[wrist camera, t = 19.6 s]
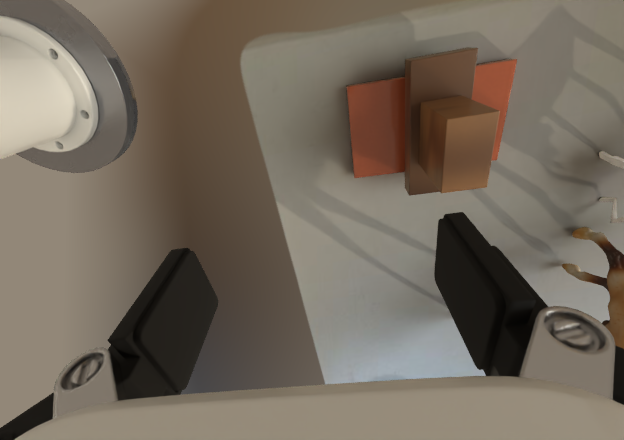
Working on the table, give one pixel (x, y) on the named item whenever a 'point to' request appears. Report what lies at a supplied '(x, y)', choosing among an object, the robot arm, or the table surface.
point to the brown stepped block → (446, 125)
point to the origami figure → (619, 163)
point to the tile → (391, 116)
